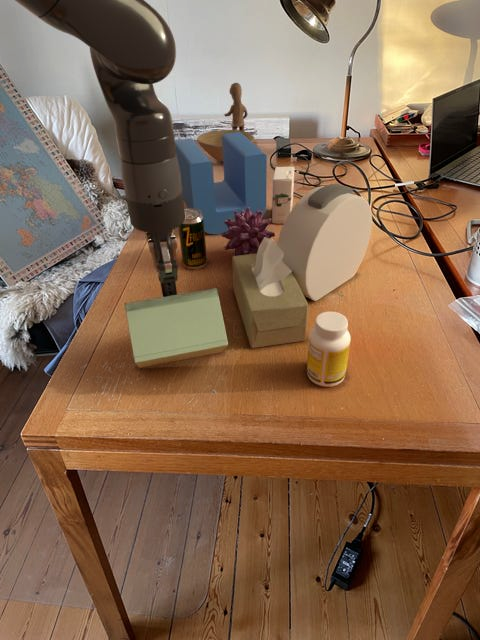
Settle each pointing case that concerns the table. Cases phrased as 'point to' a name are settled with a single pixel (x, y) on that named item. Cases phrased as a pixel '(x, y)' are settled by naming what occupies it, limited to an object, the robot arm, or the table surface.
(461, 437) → the table surface
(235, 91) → the figurine
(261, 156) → the block
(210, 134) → the bowl
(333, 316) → the pill bottle
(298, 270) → the alarm clock
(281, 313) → the tissue box
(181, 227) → the beer can
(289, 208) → the ink box
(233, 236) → the flower
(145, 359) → the pale green open box
